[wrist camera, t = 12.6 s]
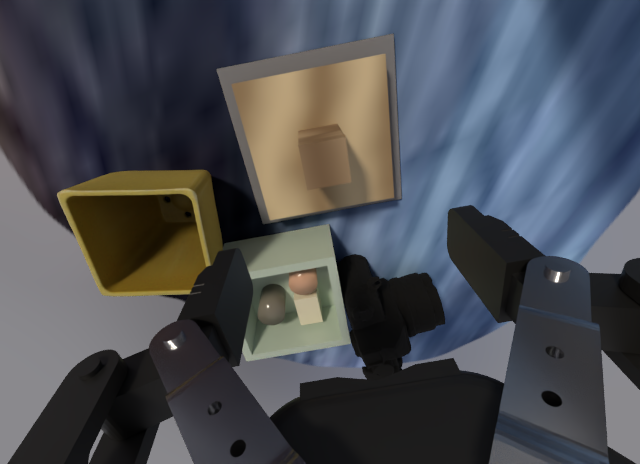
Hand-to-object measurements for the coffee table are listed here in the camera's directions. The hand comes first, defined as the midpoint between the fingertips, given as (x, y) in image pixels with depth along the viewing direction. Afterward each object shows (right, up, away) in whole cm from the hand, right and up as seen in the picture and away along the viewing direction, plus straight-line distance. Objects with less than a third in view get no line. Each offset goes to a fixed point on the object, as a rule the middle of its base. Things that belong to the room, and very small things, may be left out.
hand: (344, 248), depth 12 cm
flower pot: (-14, +4, +18) cm, 23 cm away
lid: (-1, +9, +16) cm, 18 cm away
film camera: (+7, -7, +25) cm, 27 cm away
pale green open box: (-4, -4, +23) cm, 24 cm away
